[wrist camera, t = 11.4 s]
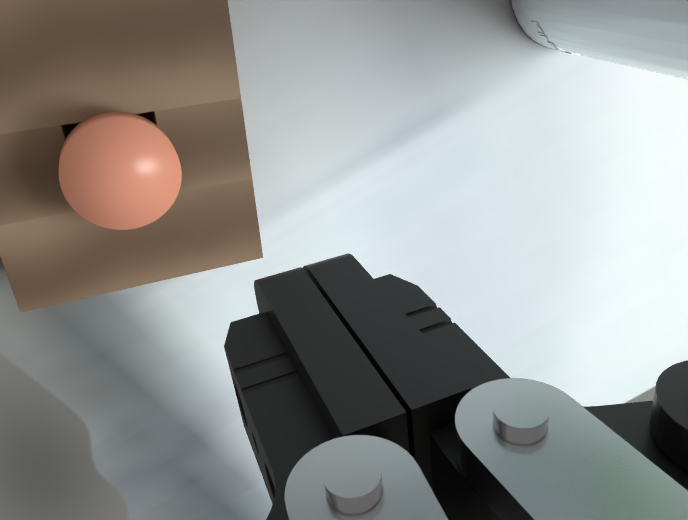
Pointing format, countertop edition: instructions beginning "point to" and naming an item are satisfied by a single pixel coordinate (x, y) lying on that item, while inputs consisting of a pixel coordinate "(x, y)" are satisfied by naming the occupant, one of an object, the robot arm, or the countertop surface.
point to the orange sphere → (119, 170)
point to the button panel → (124, 96)
